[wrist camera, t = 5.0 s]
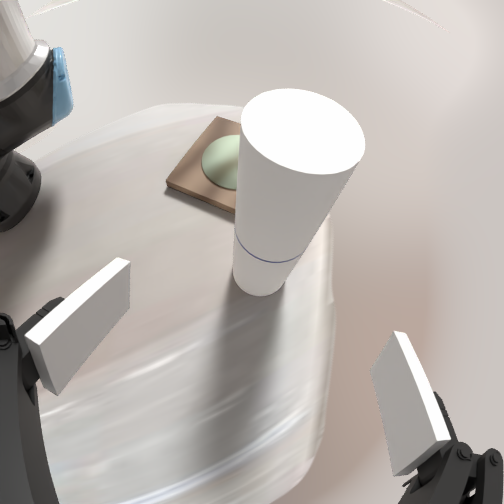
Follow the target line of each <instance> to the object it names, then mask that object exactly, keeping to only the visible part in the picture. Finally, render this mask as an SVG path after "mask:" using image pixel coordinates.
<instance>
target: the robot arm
mask: <svg viewBox="0 0 504 504" xmlns="http://www.w3.org/2000/svg"><path fill="white" fill-rule="evenodd" d="M72 109H73V98H72V92H71V86H70V82H69V76H68V70H67V65H66V60H65V55H64V52H63V49H62V48H61V47H58V48H53V49H52V50H50V48H49V45H48V44H47V42H46V41H44V40H33V37H32V35H31V33H30V31H29V28H28V26H27V23H26V21H25V19H24V16H23V13H22V11H21V9H20V6H19V3H18V0H0V232H2V231H6V230H9V229H10V228H12V227H14V226H15V225H16V224H17V223H19V222H20V221H21V220H22V219H23V217H24V216H25V215H26V214H27V213H28V211H29V210H30V208H31V207H32V205H33V203H34V201H35V199H36V197H37V195H38V192H39V189H40V185H41V174H40V171H39V169H38V168H37V166H36V165H35V164H34V162H32V161H31V160H30V159H28V158H26V157H25V156H23V155H21V154H19V153H17V152H16V151H14V149H15V148H17V147H18V146H20V145H21V144H23V143H24V142H26V141H28V140H29V139H31V138H32V137H34V136H36V135H37V134H39V133H41V132H43V131H44V130H46V129H48V128H50V127H52V126H54V125H55V123H57V122H59V121H60V120H62V119H63V118H65V117H67V116H68V115H69V114H70V112H71V111H72ZM129 308H130V261H127V260H124V259H121V258H118V257H117V258H116V259H115V260H113V261H112V262H111V263H109V264H108V265H107V266H105V267H104V268H103V269H102V270H100V271H99V272H98V273H97V274H95V275H94V276H93V277H92V278H90V279H89V280H88V281H87V282H85V283H84V284H83V285H82V286H80V287H79V288H78V289H77V290H76V291H74V292H73V293H72V294H71V295H70V296H68V297H67V298H66V299H64V298H62V297H58V298H56V299H54V300H51V301H49V302H48V303H47V304H46V305H44V306H43V307H42V309H40V310H38V311H37V312H36V314H34V315H33V316H31V317H30V318H29V319H28V320H27V321H26V322H25V323H23V324H22V325H21V326H20V327H19V328H18V329H17V330H15V327H14V324H13V320H12V319H11V317H10V316H9V315H7V314H5V313H0V504H59V501H58V498H57V495H56V492H55V488H54V485H53V481H52V477H51V474H50V470H49V465H48V461H47V457H46V452H45V447H44V441H43V435H42V429H41V422H40V415H39V406H38V395H37V387H36V382H37V380H38V379H39V378H40V380H41V382H42V385H43V387H44V388H46V389H47V390H49V391H50V392H52V393H53V394H55V395H57V396H58V395H59V394H60V393H61V391H62V390H63V389H64V388H65V386H66V385H67V384H68V382H69V381H70V380H71V378H72V377H73V376H74V375H75V373H76V372H77V371H78V370H79V368H80V367H81V366H82V365H83V363H84V362H85V361H86V360H87V358H88V357H89V356H90V355H91V353H92V352H93V351H94V350H95V348H96V347H97V346H98V345H99V344H100V342H101V341H102V340H103V339H104V338H105V336H106V335H107V334H108V333H109V332H110V330H111V329H112V328H113V327H114V326H115V324H116V323H117V322H118V321H119V320H120V319H121V317H122V316H123V315H124V314H125V313H126V312H127V310H128V309H129ZM370 373H371V377H372V380H373V384H374V388H375V392H376V396H377V400H378V405H379V409H380V413H381V417H382V422H383V426H384V430H385V435H386V440H387V445H388V450H389V455H390V461H391V466H392V472H393V476H402V475H408V474H409V473H411V472H412V471H414V470H415V469H416V468H417V470H418V474H417V475H415V476H414V477H412V478H411V479H410V480H408V481H407V482H405V483H404V484H403V485H402V486H403V487H405V486H406V485H407V484H409V483H410V485H409V486H408V488H407V490H406V491H405V493H404V495H403V496H402V498H401V500H400V501H399V503H398V504H502V498H503V459H502V456H501V454H500V452H499V451H498V450H496V449H493V448H491V449H488V450H487V451H486V452H485V453H484V454H483V455H478V454H474V453H473V451H472V450H471V448H470V447H469V446H468V445H467V444H466V443H463V442H458V440H457V437H456V434H455V432H454V429H453V426H452V423H451V421H450V418H449V417H448V414H447V411H446V410H445V406H444V404H443V401H442V399H441V398H440V397H439V396H438V394H437V393H436V392H433V391H432V389H431V386H430V384H429V382H428V380H427V377H426V375H425V373H424V370H423V368H422V366H421V364H420V362H419V360H418V358H417V355H416V353H415V351H414V349H413V347H412V345H411V343H410V341H409V339H408V337H407V335H406V333H402V332H397V331H393V333H392V335H391V336H390V339H389V340H388V342H387V343H386V345H385V347H384V348H383V350H382V352H381V353H380V355H379V356H378V358H377V359H376V361H375V363H374V364H373V366H372V368H371V369H370ZM475 488H476V491H475V494H474V495H472V496H471V497H470V496H469V494H470V492H471V491H472V490H474V489H475Z"/></svg>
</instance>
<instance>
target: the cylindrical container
mask: <svg viewBox="0 0 504 504" xmlns="http://www.w3.org/2000/svg"><path fill="white" fill-rule="evenodd" d="M364 149H365V138H364V135H363V132H362V129H361V127H360V126H359V124H358V122H357V121H356V120H355V118H354V117H353V116H352V115H351V114H350V113H349V112H348V111H347V110H346V109H344V108H343V107H342V106H340V105H339V104H337V103H336V102H334V101H332V100H331V99H329V98H327V97H324V96H322V95H319V94H316V93H313V92H309V91H305V90H298V89H277V90H271V91H268V92H265V93H262V94H260V95H258V96H256V97H254V98H253V99H252V100H251V101H249V103H248V104H247V105H246V106H245V108H244V110H243V113H242V115H241V127H240V142H239V157H238V172H237V189H236V208H235V228H234V247H233V276H234V279H235V282H236V283H237V285H238V286H239V287H240V288H241V289H242V290H243V291H245V292H246V293H248V294H251V295H254V296H267V295H270V294H273V293H274V292H276V291H277V290H279V289H280V288H281V286H282V285H283V283H284V282H285V280H286V279H287V277H288V276H289V274H290V273H291V271H292V270H293V268H294V267H295V265H296V264H297V262H298V261H299V259H300V257H301V256H302V254H303V253H304V251H305V250H306V248H307V247H308V245H309V243H310V242H311V240H312V239H313V237H314V235H315V234H316V232H317V231H318V229H319V227H320V226H321V224H322V223H323V221H324V219H325V218H326V216H327V215H328V213H329V211H330V209H331V208H332V206H333V205H334V203H335V201H336V200H337V198H338V196H339V195H340V193H341V191H342V190H343V188H344V186H345V185H346V183H347V181H348V179H349V178H350V176H351V175H352V173H353V171H354V169H355V168H356V166H357V164H358V163H359V161H360V159H361V157H362V155H363V154H364Z"/></svg>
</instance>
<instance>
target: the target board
mask: <svg viewBox="0 0 504 504" xmlns="http://www.w3.org/2000/svg"><path fill="white" fill-rule="evenodd" d="M240 127H241V124H240V123H237V122H234V121H231V120H227V119H224V118H221V117H218V116H217V117H216V118H215V119H214V120H213V121H212V123H211V124H210V125H209V126H208V127H207V128H206V130H205V131H204V132H203V133H202V134H201V136H200V137H199V138H198V139H197V141H196V142H195V143H194V144H193V145H192V147H191V148H190V149H189V151H188V152H187V153H186V154H185V156H184V157H183V158H182V159H181V161H180V162H179V163H178V165H177V166H176V167H175V169H174V170H173V171H172V173H171V174H170V175H169V177H168V178H167V179H166V183H167V186H168V187H171V188H173V189H176V190H178V191H180V192H183V193H185V194H188V195H190V196H193V197H195V198H197V199H200V200H202V201H205V202H207V203H209V204H212V205H214V206H216V207H219V208H221V209H223V210H226V211H228V212H230V213H233V214H235V208H236V189H237V172H238V157H239V142H240Z"/></svg>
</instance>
